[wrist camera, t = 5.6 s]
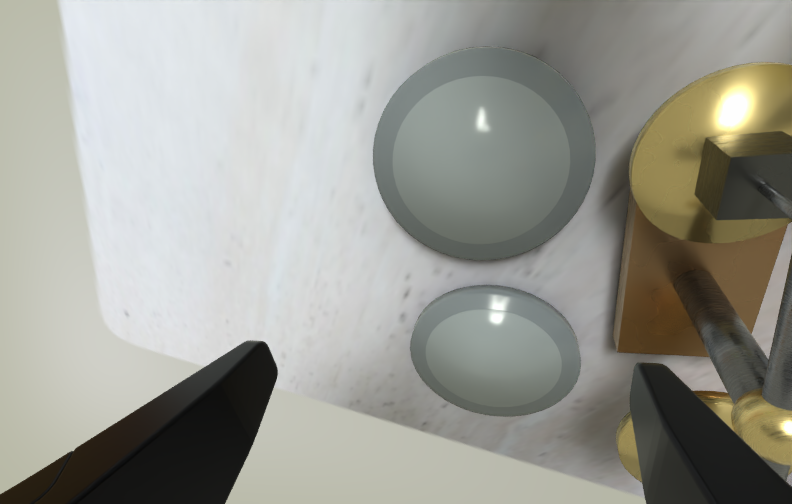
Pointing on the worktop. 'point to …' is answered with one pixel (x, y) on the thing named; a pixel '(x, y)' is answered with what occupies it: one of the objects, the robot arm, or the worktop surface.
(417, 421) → the worktop surface
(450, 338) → the dish
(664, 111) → the balance
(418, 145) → the dish
